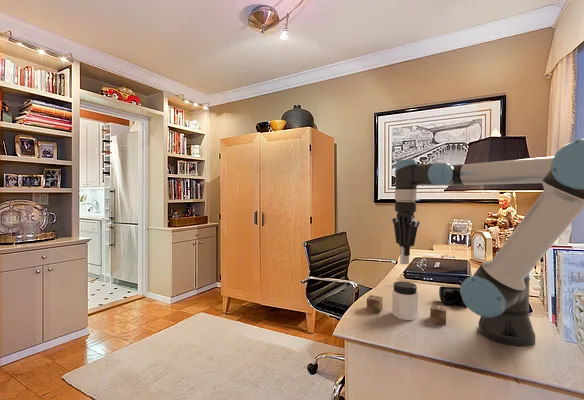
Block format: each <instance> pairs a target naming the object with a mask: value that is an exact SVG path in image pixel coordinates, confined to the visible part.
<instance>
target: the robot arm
mask: <svg viewBox="0 0 584 400" xmlns="http://www.w3.org/2000/svg"><path fill="white" fill-rule="evenodd" d="M394 176H395V179H394V180H395V189H394V200H395V202H394V211H395V212H396V217H394V218H392V223H393V227H394V235H395V243H396V244H398V246H399V255H400V258H399V259H400V260H399V262H400V263H399V265H409V264H410V253H411V252H410V249H411V247H414V246H415V243H416V239H417V238H416V237H417V232H418V227H419V226H420V220H419V221H418V220H416V219H415V217H416V216H415V213H416V212H417V202H415V201H417V189H418V188H417V187H418V186H450V187H457V186H475V185H476V186H477V185H483V186H484V185H509V184H510V185H513V184H514V185H515V184H542V186H543V191H542V192H541V194H540V195H539V196H538V198H537V199H536V201H534V203H533V204H532V206H531V207H530V208H529V209H528V211H527V212H526V214H525V215H524V216H523V218H522V219H521V220H520V222H519V223H518V224H517V226H516V227H515V229H514V230H513V231H512V233H511V234H510V235H509V237H508V238H507V240H506V241H505V242H504V243H503V245H502V246H501V247H500V249H499V250H498V251H497V253H496V254H495V256H494V257H493V258H492V259H491V260H484V261H483V262H481V264H480V265H479V267H478V268H477V269H476V271H475V272H474V273H473V275H472V276H469V277H467V278H466V279H464V281H462V283H461V286H460V288H461V289H460V293H461V296H462V300H463V302H464V303H465V305H466V306H467V307H466V308H468V309H469V310H470V311H471V312H473V313H474V314H476V315H477V316H480V318H479V320H478V325H477V329H478V331H479V333H480V334H481V335H483V336H484V337H486V338H488V339H490V340H492V341H494V342H497V343H500V344H503V345H508V346H516V347H531V346H533V345H535V344H536V332H535V331H534V328H533V325H532V322H531V318H530V316H529V315H530V313H529V312H530V311H529V310H530V309H529V308H530V303H529V302H530V281H531V278H530V273H531V271H533V269H534V268H535V267H536V266H537V264H538V263H539V262H540V260H541V259H543V257H544V256H545V255H546V253H547V252H548V251H549V250H550V248H552V246H553V245H554V244H555V243H556V241H557V240H558V239H559V238H560V237H561V236H562V235H563V234H564V232H565V231H566V229H568V227H569V226H570V225H571V223H572V222H573V221H574V220H575V219H576V217H578V215H579V214H580V213H581V211H582V210H584V138H580V139H577V140H573V141H571V142H569V143H566V144H565V145H563V146H562V147H561V148H560V149H559V150H558V151H556V152H555V154H554V156H545V157H535V158H534V157H533V158H522V159H510V160H498V161H489V162H488V161H486V162H477V163H476V162H475V163H464V164H463V163H462V164H449V162H433V163H423V164H418V161H417V160H416V159H413V158H411V159H410V158H409V159H408V158H407V159H399V160H397V161H396V163H395V171H394Z"/></svg>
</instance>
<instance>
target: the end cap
mask: <svg viewBox="0 0 584 400" xmlns="http://www.w3.org/2000/svg"><path fill="white" fill-rule="evenodd" d="M460 289H461V286H460V287H458V286H457V287H456V286H444V285H443V286H442V285H441V286H440V287H439V290H438V296H439V299H440V301H441V303H442V304H443V306H446V307H456V308H468V307H467V306H466V305H465V303H464V302H463V300H462V296H461V293H460Z"/></svg>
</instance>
